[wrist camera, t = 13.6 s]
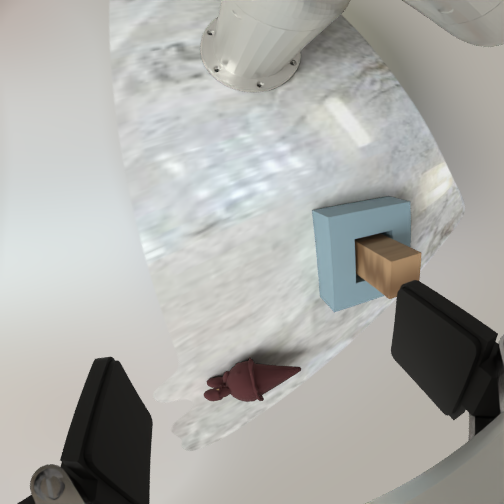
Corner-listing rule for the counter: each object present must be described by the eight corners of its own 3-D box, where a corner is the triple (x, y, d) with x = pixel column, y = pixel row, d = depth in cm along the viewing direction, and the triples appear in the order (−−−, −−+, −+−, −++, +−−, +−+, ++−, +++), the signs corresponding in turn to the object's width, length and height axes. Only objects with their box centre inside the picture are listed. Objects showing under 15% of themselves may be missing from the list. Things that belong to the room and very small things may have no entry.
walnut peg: (341, 233, 39) (391, 261, 28) (368, 227, 40) (421, 252, 28) (342, 263, 41) (389, 299, 29) (368, 256, 41) (418, 288, 30)
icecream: (301, 357, 37) (195, 380, 36) (309, 399, 37) (210, 419, 37) (292, 339, 44) (200, 359, 43) (300, 377, 44) (213, 396, 44)
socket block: (312, 210, 37) (327, 217, 33) (389, 196, 39) (410, 201, 34) (320, 296, 42) (334, 312, 37) (390, 274, 43) (408, 286, 38)
